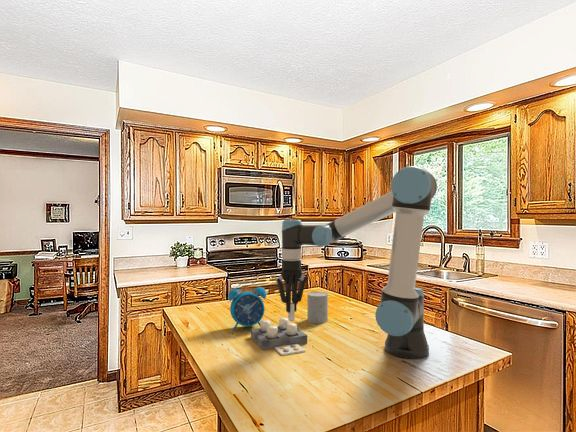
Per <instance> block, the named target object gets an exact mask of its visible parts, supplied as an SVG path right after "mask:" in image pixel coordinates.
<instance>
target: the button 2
mask: <svg viewBox="0 0 576 432" xmlns="http://www.w3.org/2000/svg"><path fill="white" fill-rule="evenodd" d="M277 326H278V325H270V326H268V327H267V337H268V338H276V337H278V327H277Z"/></svg>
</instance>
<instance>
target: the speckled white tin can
mask: <svg viewBox="0 0 576 432" xmlns="http://www.w3.org/2000/svg"><path fill="white" fill-rule="evenodd" d="M306 295H307V322H309V323H311V324H325V323H328V321H329V320H328V318H329V317H328V316H329V313H328V312H329V309H328V308H329V303H328V302H329V299H328V295H329V294H328V293H327V292H323V291H311V292H307V294H306Z"/></svg>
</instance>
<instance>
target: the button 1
mask: <svg viewBox="0 0 576 432" xmlns="http://www.w3.org/2000/svg"><path fill="white" fill-rule="evenodd" d="M259 322H260V326H259V327H260V330H261V331H263V332H267V327H268V326H271V320H270V319H261V320H260V321H259Z"/></svg>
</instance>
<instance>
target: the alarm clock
mask: <svg viewBox="0 0 576 432" xmlns="http://www.w3.org/2000/svg"><path fill="white" fill-rule="evenodd" d="M244 283H251V284H252V285H253V286H255V288H254V289H253V292H252V291H243V292H242V290H241V289H239V287H240V286H241V285H242V284H244ZM265 288H266V287H264V286H263V287H262V286H259V285H256V283H254V282H252V281H250V280H244V281H242V282H241V283H239V284H238V285H237V286H236V287H233V288H232V289H231V288H230V289H229V292H228V296H227V299H228V301H230V302H231V303H230V308H229V310H230V311H229V312H230V315H231V318H232V319H233V320H234V322H235V325H234V326H233V328H232V331H233V332H235V330H236V329H237V327H238V325H241V326H242V327H252V326H255V325H257V324H258V326H259V327H260V321H261V320H263V318H264V315H265V303H264V301H263V300H262V299H264V300H265V299H266V298H267V292H266V289H265Z"/></svg>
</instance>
